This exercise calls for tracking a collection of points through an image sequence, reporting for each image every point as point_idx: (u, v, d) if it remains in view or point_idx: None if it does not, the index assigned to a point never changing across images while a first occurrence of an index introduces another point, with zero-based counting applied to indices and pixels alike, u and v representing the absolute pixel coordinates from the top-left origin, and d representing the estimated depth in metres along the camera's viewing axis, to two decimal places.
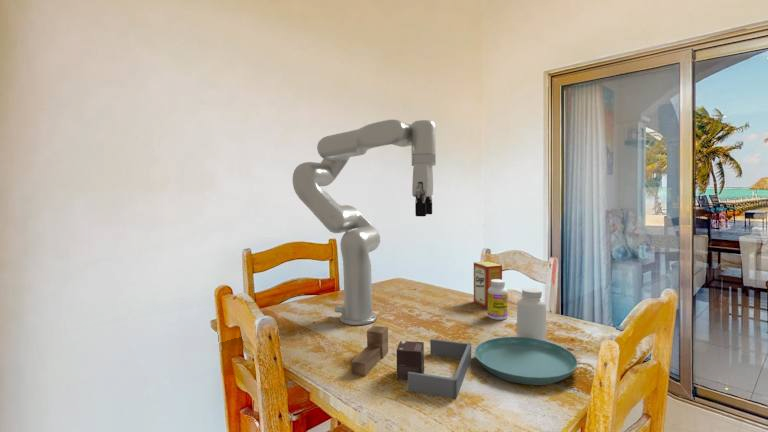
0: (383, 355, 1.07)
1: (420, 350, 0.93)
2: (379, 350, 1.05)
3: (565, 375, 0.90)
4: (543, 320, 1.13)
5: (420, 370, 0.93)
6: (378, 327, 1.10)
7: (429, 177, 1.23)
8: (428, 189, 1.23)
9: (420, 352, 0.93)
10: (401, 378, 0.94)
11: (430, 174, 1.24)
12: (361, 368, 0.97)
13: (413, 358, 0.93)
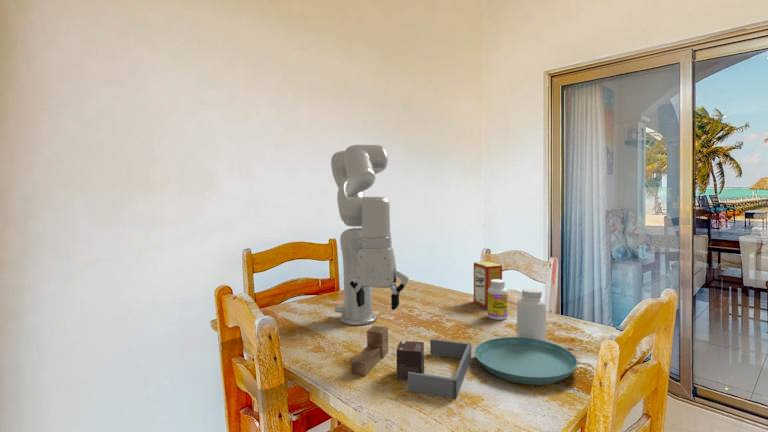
0: (383, 355, 1.07)
1: (420, 350, 0.93)
2: (379, 350, 1.05)
3: (565, 375, 0.90)
4: (543, 320, 1.13)
5: (420, 370, 0.93)
6: (378, 327, 1.10)
7: None
8: None
9: (420, 352, 0.93)
10: (401, 378, 0.94)
11: None
12: (361, 368, 0.97)
13: (413, 358, 0.93)
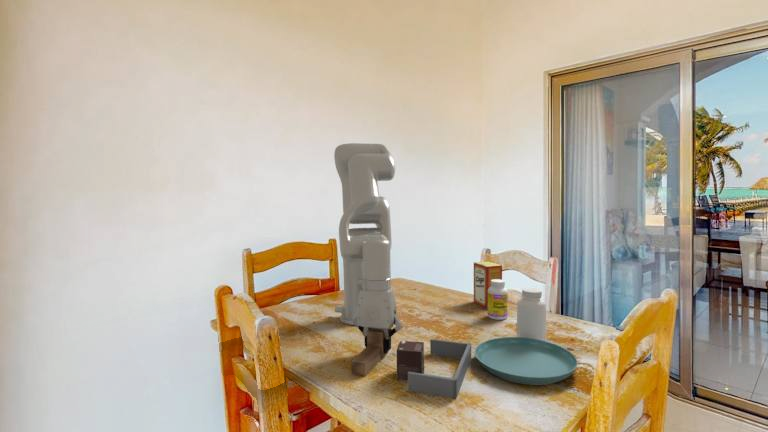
0: (383, 355, 1.07)
1: (420, 350, 0.93)
2: (379, 350, 1.05)
3: (565, 375, 0.90)
4: (543, 320, 1.13)
5: (420, 370, 0.93)
6: None
7: None
8: None
9: (420, 352, 0.93)
10: (401, 378, 0.94)
11: None
12: (361, 368, 0.97)
13: (413, 358, 0.93)
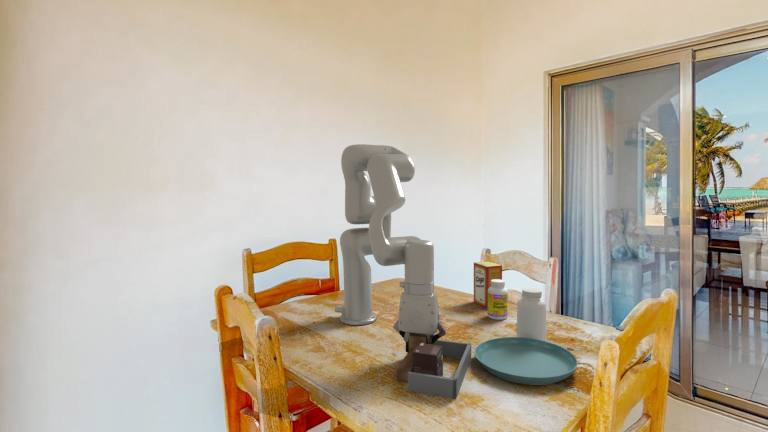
0: None
1: (436, 354, 0.91)
2: None
3: (565, 375, 0.90)
4: (543, 320, 1.13)
5: (435, 374, 0.91)
6: None
7: None
8: None
9: (436, 356, 0.91)
10: None
11: None
12: (407, 375, 0.93)
13: (429, 362, 0.91)
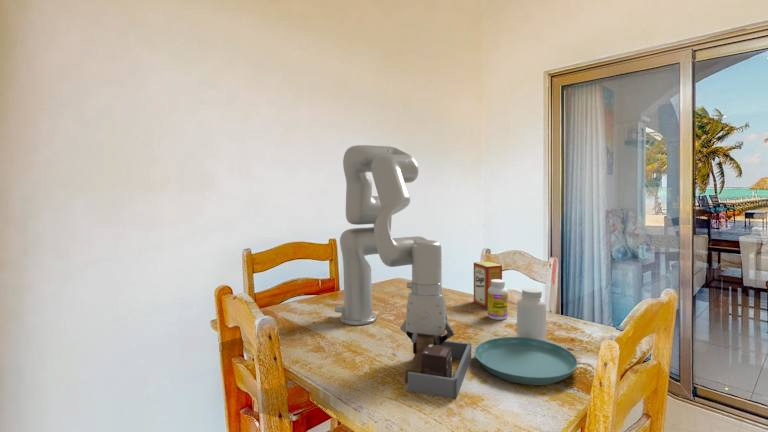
0: None
1: (445, 355, 0.90)
2: None
3: (565, 375, 0.90)
4: (543, 320, 1.13)
5: (445, 376, 0.90)
6: None
7: None
8: None
9: (445, 357, 0.90)
10: None
11: None
12: None
13: (438, 363, 0.90)
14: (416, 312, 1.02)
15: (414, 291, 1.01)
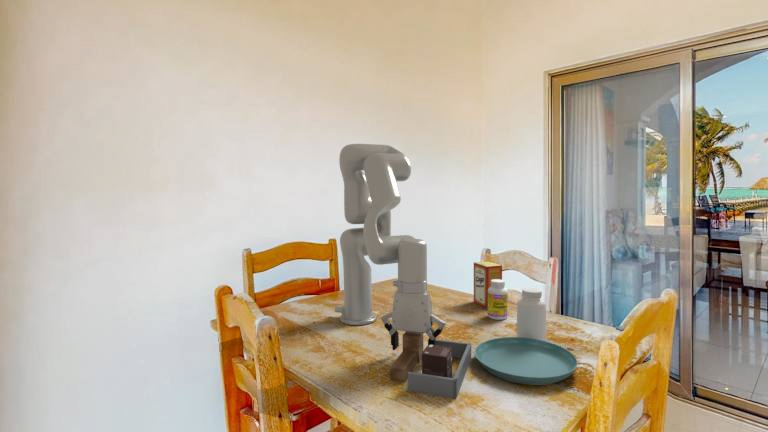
0: (420, 360, 1.04)
1: (446, 355, 0.90)
2: (416, 355, 1.02)
3: (565, 375, 0.90)
4: (543, 320, 1.13)
5: (445, 376, 0.90)
6: None
7: None
8: None
9: (446, 357, 0.90)
10: None
11: None
12: (401, 374, 0.93)
13: (438, 363, 0.90)
14: (402, 310, 1.03)
15: (400, 289, 1.03)
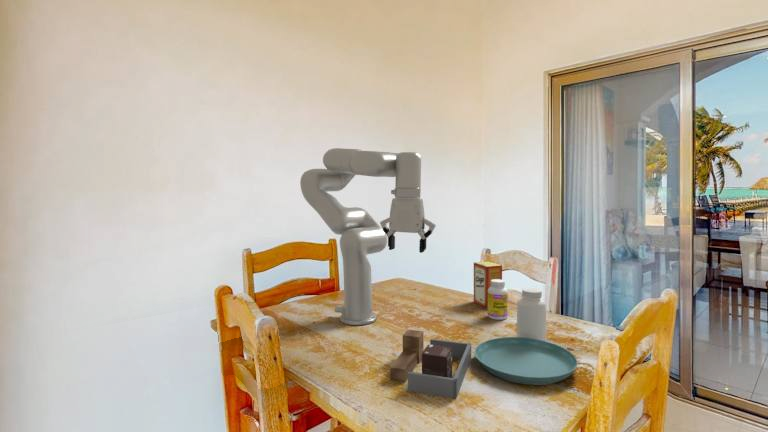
0: (420, 360, 1.04)
1: (446, 355, 0.90)
2: (416, 355, 1.02)
3: (565, 375, 0.90)
4: (543, 320, 1.13)
5: (445, 376, 0.90)
6: (413, 331, 1.07)
7: None
8: None
9: (446, 357, 0.90)
10: None
11: None
12: (401, 374, 0.93)
13: (438, 363, 0.90)
14: (398, 213, 1.19)
15: (396, 195, 1.18)
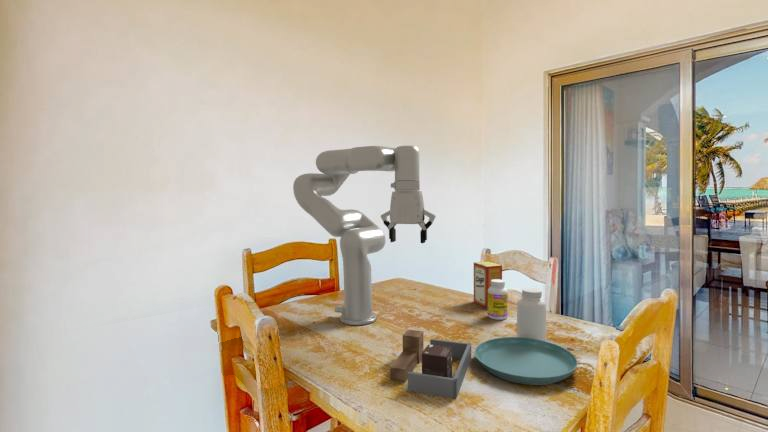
0: (420, 360, 1.04)
1: (446, 355, 0.90)
2: (416, 355, 1.02)
3: (565, 375, 0.90)
4: (543, 320, 1.13)
5: (445, 376, 0.90)
6: (413, 331, 1.07)
7: None
8: None
9: (446, 357, 0.90)
10: None
11: None
12: (401, 374, 0.93)
13: (438, 363, 0.90)
14: (398, 205, 1.21)
15: (396, 187, 1.21)
